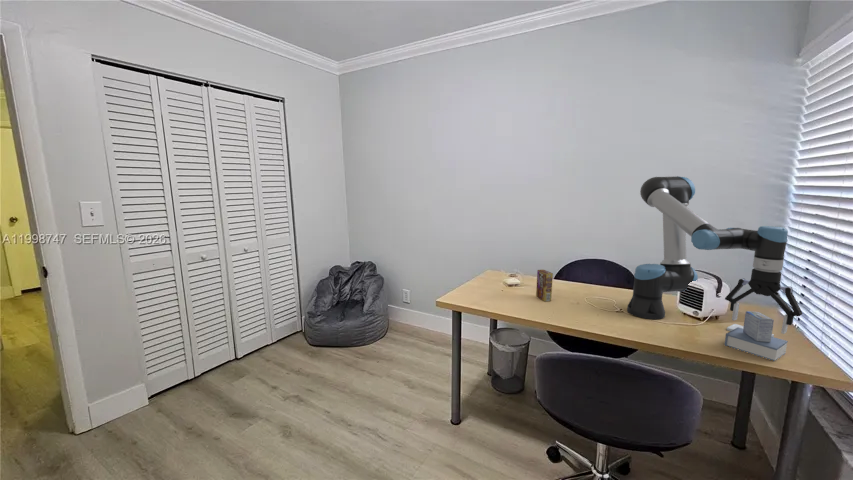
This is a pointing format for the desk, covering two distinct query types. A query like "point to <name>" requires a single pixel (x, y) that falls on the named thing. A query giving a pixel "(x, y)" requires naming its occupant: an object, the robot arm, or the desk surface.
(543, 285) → the candy box
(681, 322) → the desk surface
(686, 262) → the robot arm
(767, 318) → the medicine box
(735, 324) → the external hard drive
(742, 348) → the book
